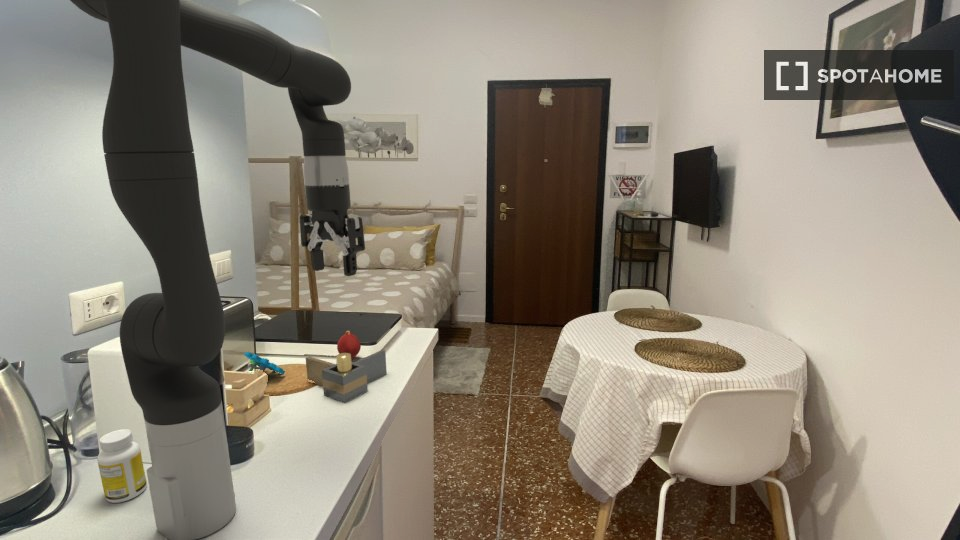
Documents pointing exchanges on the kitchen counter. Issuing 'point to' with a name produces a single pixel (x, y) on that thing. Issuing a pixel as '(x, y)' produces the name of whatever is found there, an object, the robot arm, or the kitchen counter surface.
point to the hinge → (346, 376)
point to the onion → (349, 344)
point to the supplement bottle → (121, 466)
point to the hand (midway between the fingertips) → (334, 272)
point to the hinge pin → (344, 362)
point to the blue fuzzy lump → (262, 363)
